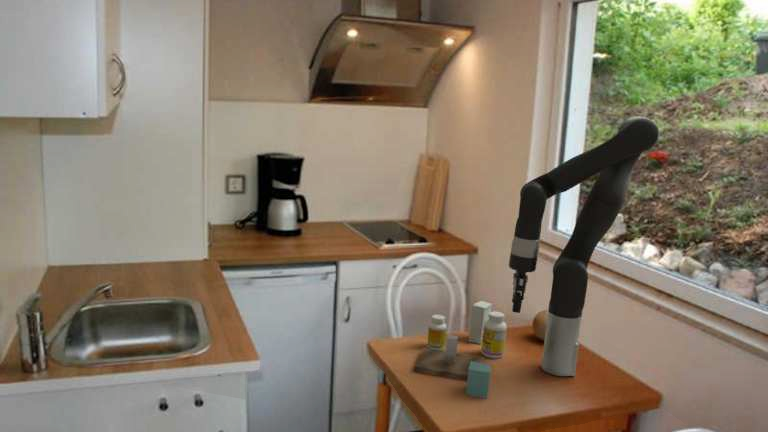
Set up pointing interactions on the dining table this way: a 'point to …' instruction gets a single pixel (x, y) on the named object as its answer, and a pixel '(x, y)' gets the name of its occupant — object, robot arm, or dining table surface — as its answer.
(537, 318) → the onion
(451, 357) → the post
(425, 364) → the post board
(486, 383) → the aqua rectangular box
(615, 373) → the dining table surface
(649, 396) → the dining table surface
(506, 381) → the dining table surface
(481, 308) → the skincare box
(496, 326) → the supplement bottle
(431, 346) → the supplement bottle
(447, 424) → the dining table surface
